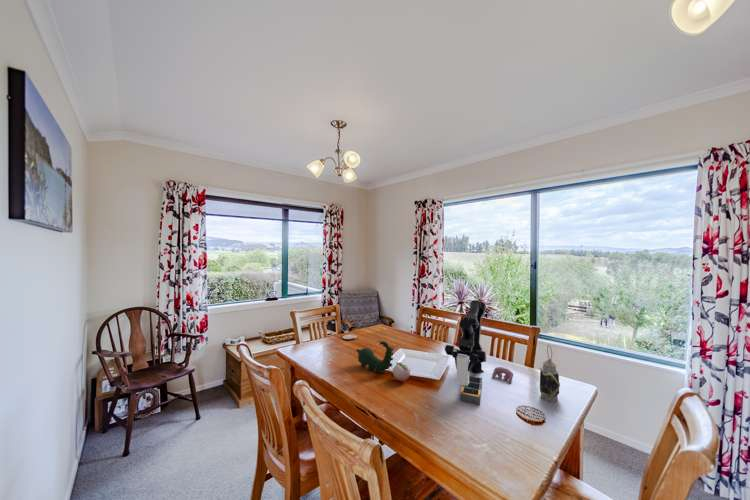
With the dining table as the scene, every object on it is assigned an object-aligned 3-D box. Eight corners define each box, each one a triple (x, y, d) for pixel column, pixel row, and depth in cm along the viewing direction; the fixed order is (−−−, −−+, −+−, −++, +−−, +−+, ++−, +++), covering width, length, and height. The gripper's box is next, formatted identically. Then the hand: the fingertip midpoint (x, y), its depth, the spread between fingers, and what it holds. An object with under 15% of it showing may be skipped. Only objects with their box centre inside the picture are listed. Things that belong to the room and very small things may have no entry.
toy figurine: (394, 374, 160) (359, 360, 174) (397, 342, 159) (362, 330, 173) (385, 380, 152) (350, 365, 167) (388, 346, 151) (352, 334, 165)
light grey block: (458, 379, 136) (458, 354, 135) (469, 382, 133) (469, 356, 133) (456, 383, 132) (456, 357, 132) (467, 386, 130) (467, 359, 129)
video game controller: (512, 384, 148) (514, 370, 151) (510, 383, 145) (512, 369, 148) (493, 378, 155) (495, 365, 157) (491, 377, 152) (493, 364, 154)
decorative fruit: (389, 381, 149) (389, 362, 148) (398, 375, 155) (398, 357, 154) (403, 387, 142) (403, 367, 142) (412, 381, 148) (412, 362, 148)
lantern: (537, 392, 138) (537, 341, 137) (556, 394, 135) (556, 343, 135) (542, 401, 129) (542, 347, 129) (562, 404, 127) (563, 349, 127)
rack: (464, 381, 148) (464, 374, 148) (482, 384, 145) (482, 377, 145) (460, 401, 129) (460, 392, 129) (480, 405, 126) (480, 396, 126)
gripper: (445, 328, 140) (439, 358, 131) (485, 334, 131) (481, 366, 122) (449, 339, 147) (443, 368, 138) (487, 346, 138) (484, 377, 129)
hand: (462, 370), depth 131 cm, fingers closed on light grey block, 5 cm apart
